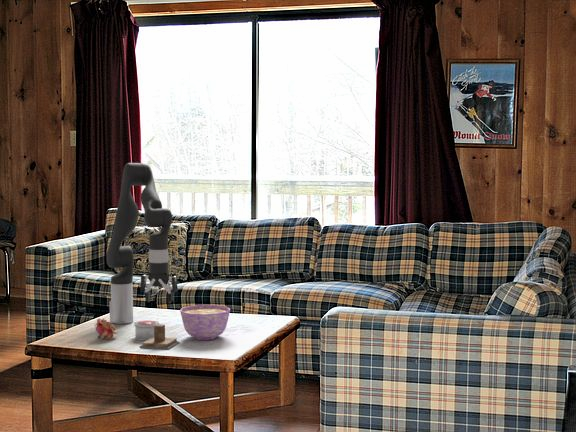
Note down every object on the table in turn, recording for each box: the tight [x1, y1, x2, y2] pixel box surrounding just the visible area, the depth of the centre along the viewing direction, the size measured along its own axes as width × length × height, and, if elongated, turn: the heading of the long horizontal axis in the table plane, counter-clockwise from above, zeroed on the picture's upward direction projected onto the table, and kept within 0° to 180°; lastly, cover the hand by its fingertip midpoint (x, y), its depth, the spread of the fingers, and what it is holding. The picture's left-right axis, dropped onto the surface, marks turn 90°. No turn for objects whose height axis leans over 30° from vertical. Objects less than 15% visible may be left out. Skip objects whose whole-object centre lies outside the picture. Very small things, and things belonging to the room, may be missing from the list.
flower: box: [94, 318, 119, 340], centre depth 334 cm, size 10×9×8 cm
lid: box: [141, 323, 178, 347], centre depth 323 cm, size 10×10×7 cm
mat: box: [139, 340, 180, 350], centre depth 323 cm, size 12×11×1 cm
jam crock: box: [133, 319, 160, 341], centre depth 336 cm, size 10×10×6 cm
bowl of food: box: [179, 304, 231, 341], centre depth 335 cm, size 20×20×12 cm
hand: (159, 302), depth 322 cm, fingers open, 8 cm apart
